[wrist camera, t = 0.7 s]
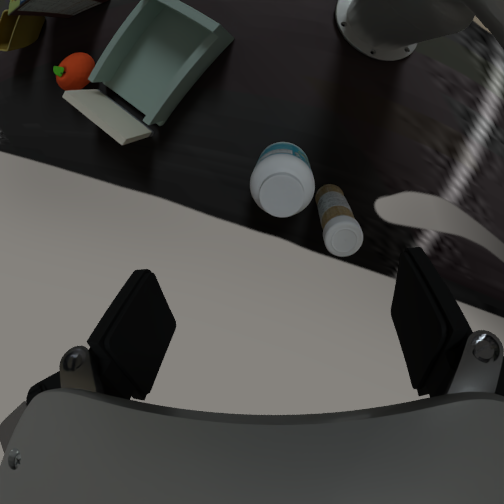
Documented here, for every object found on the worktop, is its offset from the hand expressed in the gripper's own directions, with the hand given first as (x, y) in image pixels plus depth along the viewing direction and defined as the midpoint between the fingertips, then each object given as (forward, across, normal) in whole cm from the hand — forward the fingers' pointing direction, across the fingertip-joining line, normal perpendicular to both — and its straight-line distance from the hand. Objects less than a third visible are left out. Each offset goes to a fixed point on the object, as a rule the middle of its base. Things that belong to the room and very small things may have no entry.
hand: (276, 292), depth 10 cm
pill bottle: (+32, 0, +3) cm, 33 cm away
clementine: (+32, +30, -21) cm, 49 cm away
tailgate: (+31, +23, -10) cm, 40 cm away
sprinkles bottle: (+32, -6, +9) cm, 34 cm away
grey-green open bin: (+32, +15, -16) cm, 39 cm away
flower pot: (+32, +42, -38) cm, 66 cm away
